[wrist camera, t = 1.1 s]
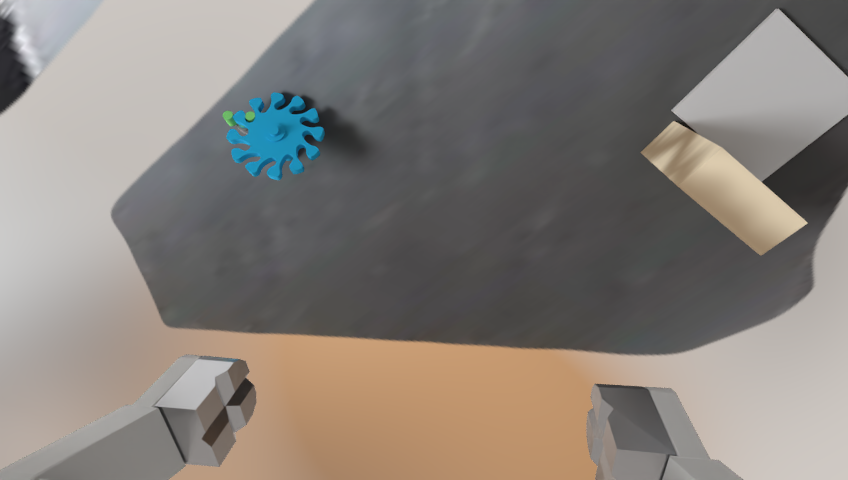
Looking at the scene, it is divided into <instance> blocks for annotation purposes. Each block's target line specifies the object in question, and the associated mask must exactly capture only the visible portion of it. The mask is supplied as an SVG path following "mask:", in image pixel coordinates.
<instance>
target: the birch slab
mask: <svg viewBox="0 0 848 480" xmlns="http://www.w3.org/2000/svg"><path fill="white" fill-rule="evenodd" d="M641 153H642V154H643V155H644V156H645V157H646V158H647V159H648V160H649V161H651V162H652V163H653V164H654V165H655V166H656V167H657V168H658V169H659V170H660V171H662V172H663V173H664V174H665V175H666V176H667V177H668V178H669V179H670V180H671V181H673V182H674V183H675V184H676V185H677V186H678V187H679V188H681V189H682V190H683V191H684V192H685V193H686V194H688V195H689V196H690V197H691V198H692V199H694V200H695V201H696V202H697V203H698V204H700V205H701V206H702V207H703V208H704V209H706V210H707V211H708V212H709V213H710V214H712V215H713V216H714V217H715V218H716V219H717V220H719V221H720V222H721V223H722V224H723V225H725V226H726V227H727V228H728V229H729V230H731V231H732V232H733V233H734V234H735V235H737V236H738V237H739V238H740V239H741V240H743V241H744V242H745V243H746V244H747V245H748V246H750V247H751V248H752V249H753V250H754V251H756V252H757V253H758V254H759V255H760V256H761V255H763V254H764V253H765V252H767V251H768V250H770V249H771V248H773V247H774V246H776V245H777V244H778V243H780V242H781V241H783V240H784V239H786V238H787V237H789V236H790V235H791V234H793V233H794V232H796V231H797V230H799V229H800V228H802V227H803V226H804V225H806V224H807V222H806V221H805V220H804V219H803V218H802V217H800V216H799V215H798V214H797V213H796V212H795V211H794V210H792V209H791V208H790V207H789V206H788V205H787V204H786V203H785V202H783V201H782V200H781V199H780V198H779V197H778V196H777V195H775V194H774V193H773V192H772V191H771V190H770V189H769V188H768V187H766V186H765V185H764V184H763V183H762V182H761V181H760V180H758V179H757V178H756V177H755V176H754V175H753V174H752V173H750V172H749V171H748V170H747V169H746V168H745V167H744V166H743V165H741V164H740V163H739V162H738V161H737V160H736V159H735V158H733V157H732V156H731V155H730V154H729V153H728V152H727V151H725V150H724V149H723V148H722V147H720V146H718V145H717V144H715V143H713V142H711V141H709V140H708V139H706V138H704V137H702V136H700V135H698V134H697V133H695V132H693V131H691V130H689V129H688V128H686V127H684V126H682V125H680V124H679V123H677V122H675V121H673V122H672V123H671V124H670V125H669V126H668V127H667V128H666V129H665V130H664V131H663V132H662V133H661V134H660V135H658V136H657V137H656V138H655V139H654V140H653V141H652V142H651V143H650V144H649V145H648V146H647V147H646V148H645V149H644V150H643V151H642V152H641Z"/></svg>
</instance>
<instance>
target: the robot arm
mask: <svg viewBox="0 0 848 480" xmlns="http://www.w3.org/2000/svg"><path fill="white" fill-rule="evenodd" d="M248 373H249V369H248V367H247V364H246V361H243V360H240V359H232V358H221V357H211V356H197V355H184V356H182V357H180V358H178V359H177V360H176V361H175V362H174V364H172V366H171V367H169V368H168V369H167V370H166V371H165V372H164V374H163V375H162V376H161V377H160V378H159V379H158V380H157V381H156V382H155V383H154V384H153V385H152V386H151V387H150V388H149V389H148V390H147V391H146V392H145V393H144V394H143V395H142V396H141V397H140V398H139V399H138V400H137V401H136V402H135V403H134V404H133V405H125V406H123V407H121V408H119V409H117V410H115V411H113V412H111V413H109V414H107V415H105V416H104V417H102V418H100V419H98V420H96V421H94V422H92V423H90V424H88V425H86V426H84V427H82V428H80V429H78V430H76V431H74V432H73V433H71V434H69V435H67V436H65V437H63V438H61V439H59V440H57V441H55V442H53V443H51V444H49V445H47V446H45V447H43V448H41V449H40V450H38V451H36V452H34V453H32V454H30V455H28V456H26V457H24V458H22V459H20V460H18V461H16V462H14V463H12V464H11V465H9V466H7V467H5V468H3V469H1V470H0V480H169V479H170V478H171V477H172V476H174V475H175V474H176V473H177V472H179V471H180V470H181V469H183V468H184V467H185V466H186V465H185V464H192V465H204V466H217V467H219V466H220V465H221V464H222V462H223V461H224V459H225V457H226V456H227V454H228V453H229V451H230V450H231V448H232V446H233V445H234V443H235V442H236V435H235V432H236V431H238V430H239V429H241V428H242V427H244V426H245V425H247V423H248V421H249V420H250V418H251V416H252V415H253V411H254V407H255V405H256V391H255V388H254V385H253V384H252V383H251V382H250V381H249V380H248V379H247V378H246V377H247V375H248ZM591 400H592V404H593V409H591V410H590V411H589V412H588V416H587V442H588V448H589V453H590V457H591V459H592V460H593V461H594V463H595V464H596V465H597V466H598V467H597V473H596V478H595V479H596V480H743V479H742V478H741V477H739V476H738V475H737V474H736V473H734V472H733V471H732V470H731V469H729V468H728V467H727V466H726V465H724V464H723V463H722V462H721V461H719V460H711V459H710V457H709V456H708V454H707V452H706V450H705V448H704V446H703V444H702V442H701V440H700V439H699V436H698V434H697V433H696V431H695V429H694V427H693V425H692V423H691V421H690V419H689V417H688V415H687V413H686V412H685V410H684V408H683V406H682V404H681V402H680V400H679V398H678V396H677V394H676V393H675V392H674V391H673V390H672V389H671V388H656V387H639V386H622V385H606V384H605V385H604V384H594V386H593V388H592V392H591Z"/></svg>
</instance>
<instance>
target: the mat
mask: <svg viewBox="0 0 848 480" xmlns="http://www.w3.org/2000/svg"><path fill="white" fill-rule="evenodd" d="M671 111H672V112H674V113H675V114H676V115H677V116H678V117H679V118H680V119H682V120H683V121H684V122H685V123H686V124H687V125H688V126H689V127H691V128H692V129H693V130H694V131H695V132H696V133H697V134H699V135H700V136H702V137H704V138H706V139H708V140H709V141H711V142H713V143H715V144H717V145H718V146H720V147H722V148H723V149H724V150H725V151H727V152H728V153H729V154H730V155H731V156H732V157H733V158H735V159H736V160H737V161H738V162H739V163H740V164H741V165H743V166H744V167H745V168H746V169H747V170H748V171H749V172H750V173H752V174H753V175H754V176H755V177H756V178H757V179H758V180H760V181H761V182H762V181H763V180H764V179H766V178H767V177H768V176H770V175H771V174H772V173H773V172H775V171H776V170H777V169H779V168H780V167H781V166H782V165H784V164H785V163H786V162H788V161H789V160H790V159H791V158H793V157H794V156H795V155H796V154H798V153H799V152H800V151H802V150H803V149H804V148H805V147H807V146H808V145H809V144H811V143H812V142H813V141H814V140H816V139H817V138H818V137H820V136H821V135H822V134H823V133H825V132H826V131H827V130H829V129H830V128H831V127H832V126H834V125H835V124H836V123H837V122H839V121H840V120H841V119H843V118H844V117H845V116H846V115H848V77H847V76H846V75H845V74H844V73H843V72H842V71H841V70H840V69H839V68H838V67H837V66H836V65H835V64H834V63H833V62H832V61H831V60H830V59H829V58H828V57H827V56H826V55H825V54H824V53H823V52H822V51H821V50H820V49H819V48H818V47H817V46H816V45H815V44H814V43H813V42H812V41H811V40H810V39H809V38H808V37H807V36H806V35H805V34H804V33H803V32H802V31H801V30H800V29H799V28H798V27H797V26H796V25H795V24H794V23H792V22H791V21H790V20H789V19H788V18H787V17H786V16H785V15H784V14H783V13H782V12H781V11H780V10H779V9H775V10H774V11H773V12H772V13H771V14H770V15H769V16H768V17H767V18H766V19H765V20H764V21H763V22H762V23H761V24H760V25H759V26H758V27H757V28H756V29H755V30H754V31H753V32H752V33H751V34H750V35H749V36H747V37H746V38H745V39H744V40H743V41H742V42H741V43H740V44H739V45H738V46H737V47H736V48H735V49H734V50H733V51H732V52H731V53H730V54H729V55H728V56H727V57H726V58H725V59H724V60H723V61H722V62H721V63H720V64H719V65H718V66H716V67H715V68H714V69H713V70H712V71H711V72H710V73H709V74H708V75H707V76H706V77H705V78H704V79H703V80H702V81H701V82H700V83H699V84H698V85H697V86H696V87H695V88H694V89H693V90H692V91H691V92H690V93H689V94H688V95H687V96H686V97H684V98H683V99H682V100H681V101H680V102H679V103H678V104H677V105H676V106H675V107H674V108H673V109H672V110H671Z"/></svg>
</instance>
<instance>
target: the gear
mask: <svg viewBox="0 0 848 480" xmlns="http://www.w3.org/2000/svg"><path fill="white" fill-rule="evenodd" d="M249 103H250V105H251V107H252V108H253V110H254V111H255V114H254V113H253V112H247V113H246V114H245V113H244V112H243V111H242V110H240V111H238V112H237V113H236V114H235V115H233V113H232V112H231V111H225V112H224V113H223V118H224V119H225V120H226V122H227V123H228V124H229V125H230V126H235V125H236V124H237V127H238V128H239V129H240V131H241V132H243V133H245V134H247V135H246V136H240V134H239V133H238V132H237V131H236V130H235V129H230V130H229V132H228V134H227V137H226V138H227V140H228V141H229V142H230V143H232V144H237V143H244V144H247V145H250V149H249V150H247V151H244V150H241V149H239V148H234V149H232V157H233V159H234V161H235V162H236V163H241V162H243V161H244V160H246V159H248V158H250V157H261V158H260V160H259V161H257V162H249V163H247V164H246V166H245V167H246V169H247V170H248V171H249V172H250V173H251V174H252V175H253V176H254V177H256V176H258V175H259V174H260V172H261V170H262V168H263V167H264V166H265V165H267V164H268V163H270V162H272V161H276V164H275V165H274V166H272V167H270V168H269V169H268V171H267V175H268V176H269V177H270V178H271V179H275V180H280V179H281V178H282V166H283V164H284V162H285V161H286V160H287V161H291V160H292V159H293V161H292V162H291V164H290V170H291V171H292V173H293V174H299V173H302V172H304V167H303V165H302V163H301V162H300V161H299V159H298V151H299V150H300V149H301V148H306V154H307V156H308V158H309V159H310V160H312V161H313V160H315V159H316V158H317V157H318V156H319V155H320V152H319V150H318V148H317V147H316V146H312V145H310V144H308V143H307V142H306V141H305V140H304V137H305V136H306V135H308V134H310V135H312V136H313V137H314V139H315V140H316V141H322V140H323V138H324V135H325V132H324V129H323V128H322V127H313V128H312V127H307V126H304V125H302V122H304V121H309V122H311V123H317V122H319V117H318V114H317V111H316V109H315V108H312V109H309V110H308V111H307V112H305V113H303V114H292V112H293V111H296V110H303V109H304V108H305V107H306V106H305V104H304V101H303V100H302V99H301V98H300V97H299V96H295V97H293V99H292V101H291V103H290V104H289V105H288V106H287V107H285V108H283V109H281V110H277V108H278V107H280V106H282V105H283V104H284V103H285V98H284V96H283V95H282V94H280V93H275V92H273V93H272V94H271V105H270V107H269V109H268V110H267V111H266V112H265V113H261V111H262V110H263V108H264V103H263V102H262V100H261V98H254V99H251V100H250V101H249Z"/></svg>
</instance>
